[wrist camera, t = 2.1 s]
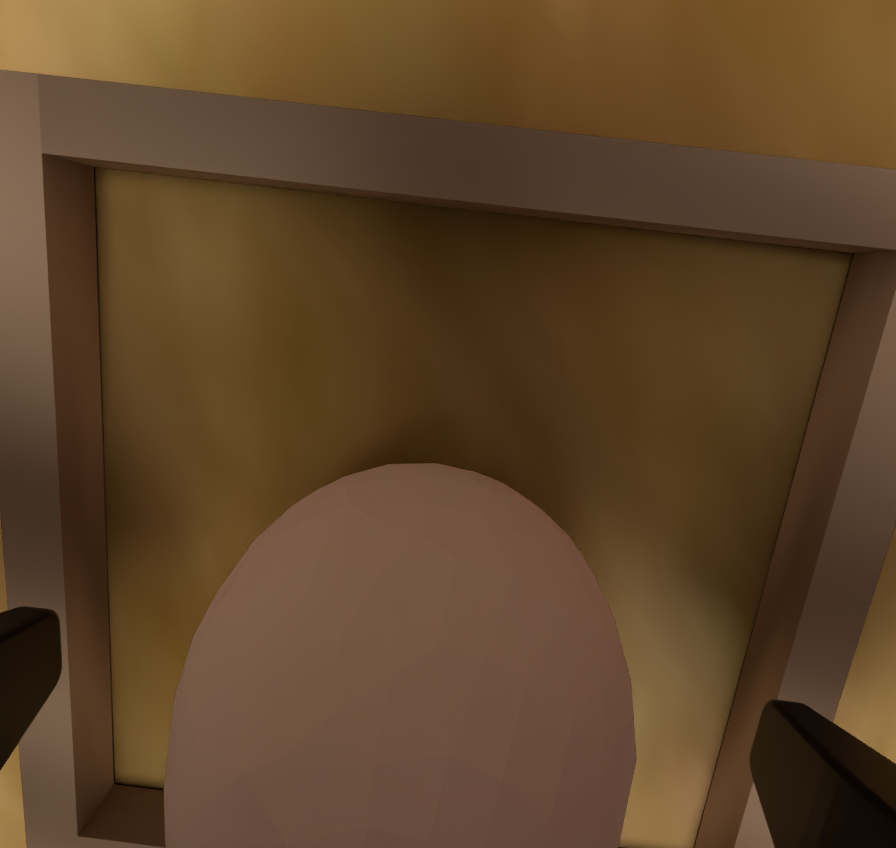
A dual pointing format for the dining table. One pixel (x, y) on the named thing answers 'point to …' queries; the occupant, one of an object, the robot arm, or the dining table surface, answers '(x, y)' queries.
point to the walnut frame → (431, 183)
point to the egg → (404, 679)
